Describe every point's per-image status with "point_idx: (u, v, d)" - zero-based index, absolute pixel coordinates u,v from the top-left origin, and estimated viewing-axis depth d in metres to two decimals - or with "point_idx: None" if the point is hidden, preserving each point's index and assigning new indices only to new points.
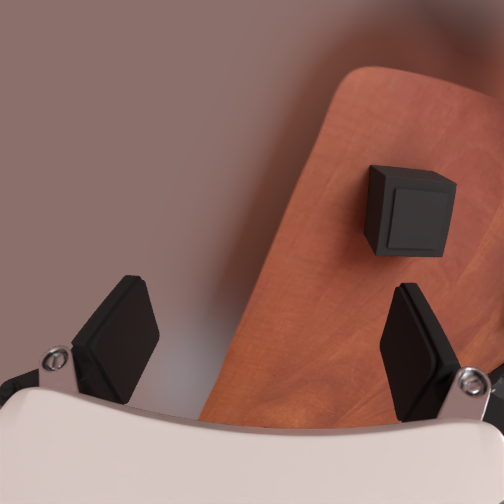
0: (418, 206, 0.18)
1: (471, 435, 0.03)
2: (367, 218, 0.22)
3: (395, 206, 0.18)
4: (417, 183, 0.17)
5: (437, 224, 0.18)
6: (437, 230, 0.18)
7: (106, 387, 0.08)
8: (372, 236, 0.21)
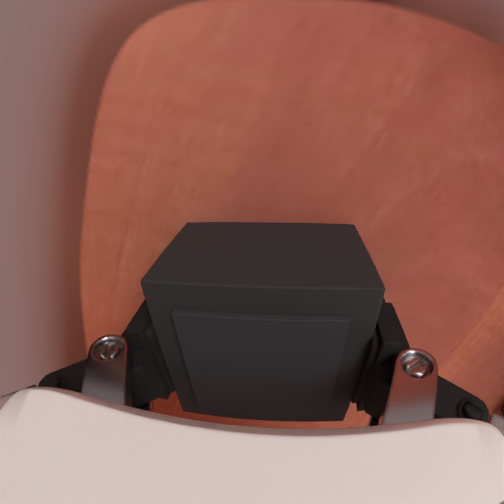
0: (249, 351, 0.07)
1: (471, 435, 0.03)
2: None
3: (185, 349, 0.08)
4: (239, 297, 0.07)
5: (317, 382, 0.08)
6: (320, 390, 0.08)
7: (157, 375, 0.08)
8: None
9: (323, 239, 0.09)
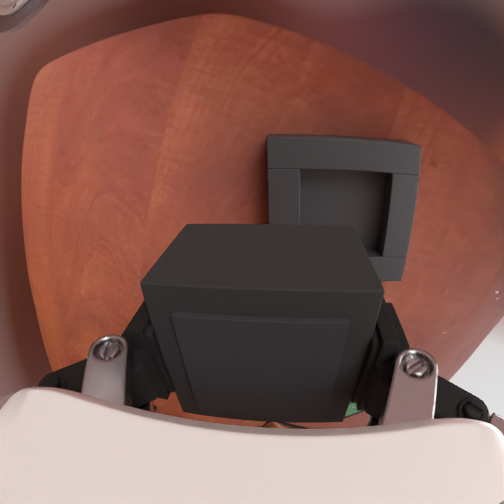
0: (249, 352, 0.07)
1: (471, 435, 0.03)
2: None
3: (184, 351, 0.08)
4: (238, 299, 0.07)
5: (317, 383, 0.08)
6: (319, 391, 0.08)
7: (157, 375, 0.08)
8: None
9: (323, 241, 0.09)
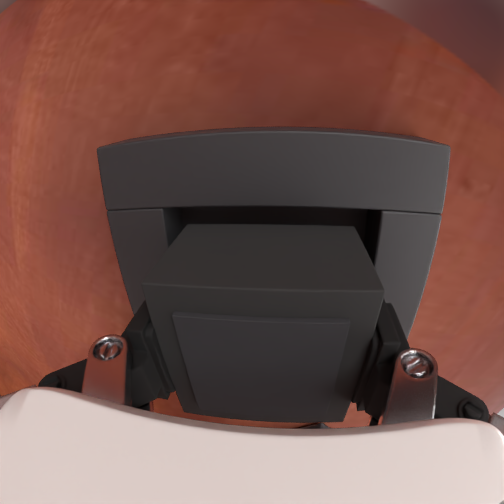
0: (249, 353, 0.07)
1: (471, 435, 0.03)
2: None
3: (185, 350, 0.08)
4: (239, 300, 0.07)
5: (317, 383, 0.08)
6: (320, 391, 0.08)
7: (157, 375, 0.08)
8: None
9: (323, 241, 0.09)
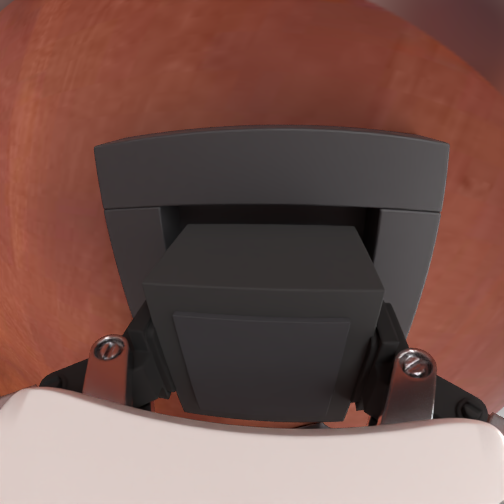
0: (250, 352, 0.07)
1: (471, 435, 0.03)
2: None
3: (185, 350, 0.08)
4: (240, 300, 0.07)
5: (318, 383, 0.08)
6: (320, 391, 0.08)
7: (158, 375, 0.08)
8: None
9: (323, 241, 0.09)
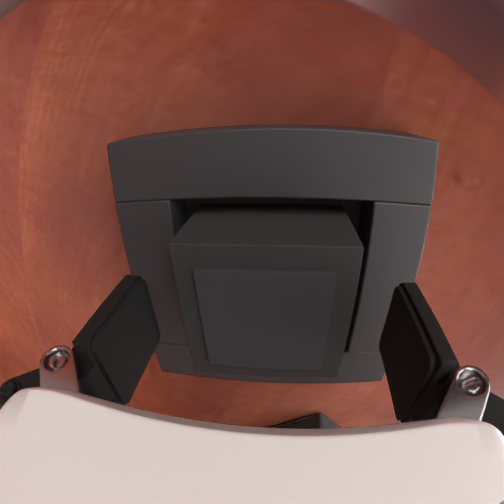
0: (255, 302, 0.09)
1: (471, 435, 0.03)
2: None
3: (201, 303, 0.10)
4: (248, 255, 0.09)
5: (313, 332, 0.10)
6: (315, 342, 0.10)
7: (107, 387, 0.08)
8: None
9: (315, 215, 0.11)
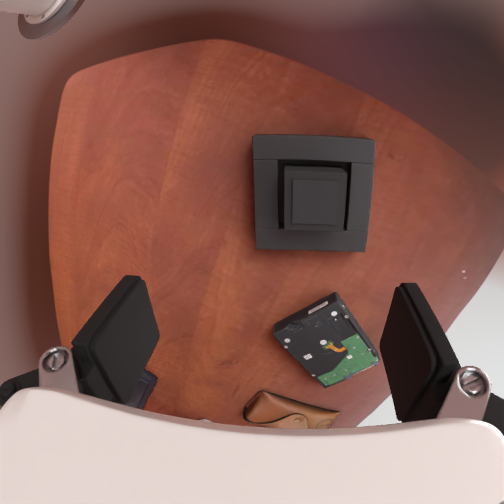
0: (312, 191, 0.27)
1: (471, 435, 0.03)
2: None
3: (293, 192, 0.27)
4: (311, 175, 0.26)
5: (332, 205, 0.27)
6: (333, 210, 0.28)
7: (106, 387, 0.08)
8: None
9: (330, 167, 0.28)
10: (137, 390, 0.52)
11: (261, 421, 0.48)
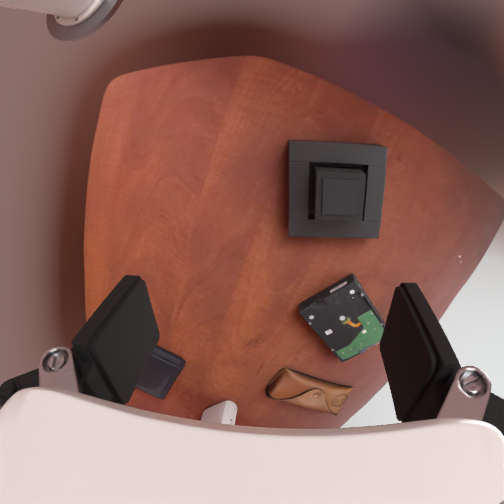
0: (339, 188, 0.33)
1: (471, 435, 0.03)
2: (313, 198, 0.37)
3: (324, 189, 0.33)
4: (337, 175, 0.32)
5: (354, 199, 0.33)
6: (354, 203, 0.33)
7: (106, 387, 0.07)
8: (314, 208, 0.36)
9: (351, 169, 0.34)
10: (165, 374, 0.58)
11: (283, 397, 0.54)
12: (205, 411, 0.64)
